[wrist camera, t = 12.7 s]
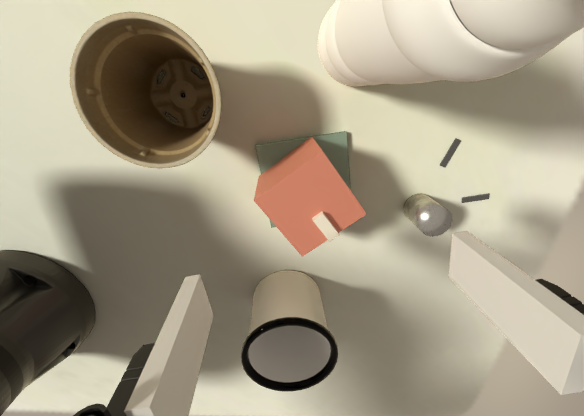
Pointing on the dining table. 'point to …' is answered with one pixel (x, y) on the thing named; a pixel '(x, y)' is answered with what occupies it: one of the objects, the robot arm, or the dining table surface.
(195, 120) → the flower pot
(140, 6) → the dining table surface
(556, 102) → the dining table surface
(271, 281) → the mug
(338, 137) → the pad
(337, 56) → the water bottle
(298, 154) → the orange box with tab
